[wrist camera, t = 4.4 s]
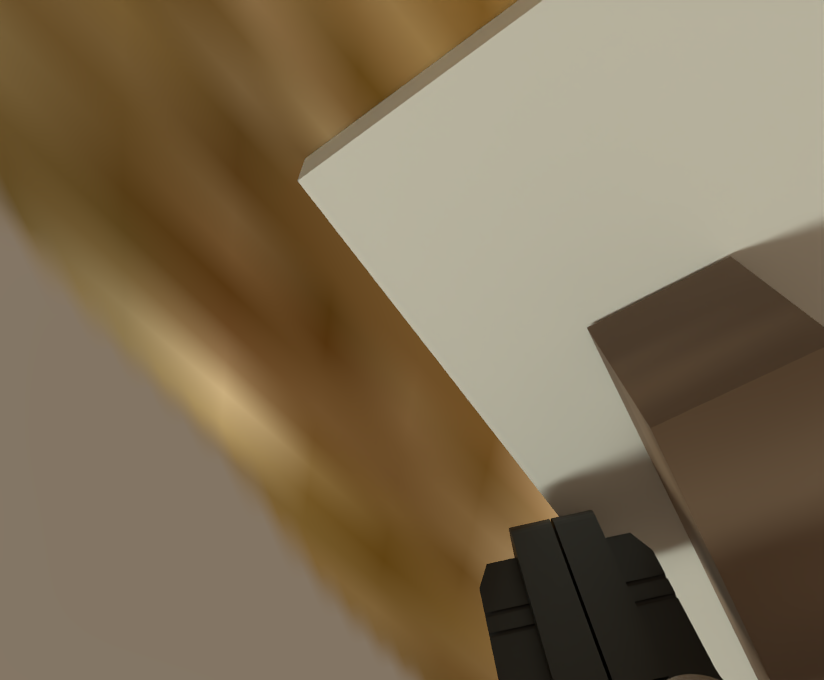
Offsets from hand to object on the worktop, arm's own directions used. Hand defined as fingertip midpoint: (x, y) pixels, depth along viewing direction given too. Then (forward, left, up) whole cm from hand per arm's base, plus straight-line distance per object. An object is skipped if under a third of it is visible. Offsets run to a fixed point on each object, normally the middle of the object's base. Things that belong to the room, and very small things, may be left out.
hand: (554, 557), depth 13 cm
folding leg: (+4, +3, 0) cm, 5 cm away
